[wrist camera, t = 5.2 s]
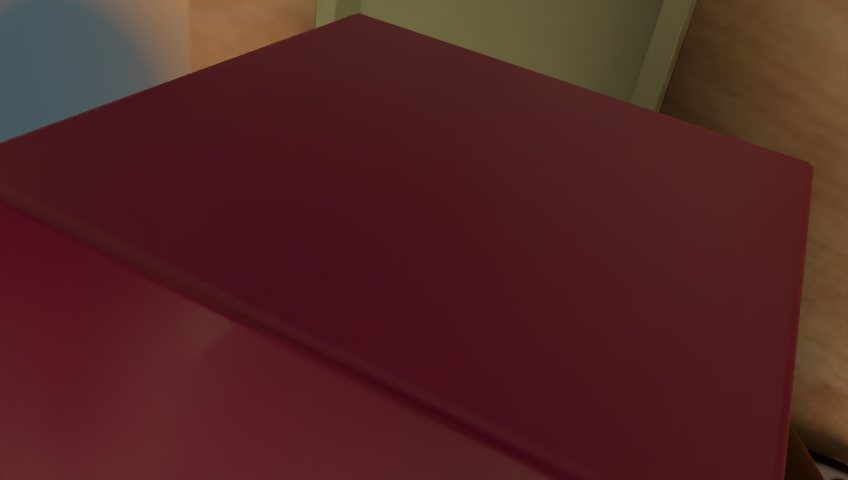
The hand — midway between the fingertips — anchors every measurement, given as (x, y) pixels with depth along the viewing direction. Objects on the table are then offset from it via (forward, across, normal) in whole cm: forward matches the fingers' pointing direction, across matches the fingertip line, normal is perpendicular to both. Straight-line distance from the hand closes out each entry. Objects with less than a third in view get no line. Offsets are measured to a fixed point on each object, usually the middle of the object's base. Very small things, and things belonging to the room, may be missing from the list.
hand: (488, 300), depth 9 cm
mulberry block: (+1, 0, 0) cm, 1 cm away
